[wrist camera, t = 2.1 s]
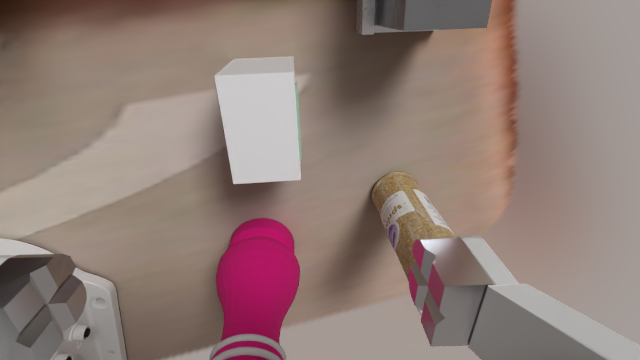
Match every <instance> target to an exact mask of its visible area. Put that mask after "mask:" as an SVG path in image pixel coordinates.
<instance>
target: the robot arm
mask: <svg viewBox="0 0 640 360" xmlns="http://www.w3.org/2000/svg"><path fill="white" fill-rule="evenodd" d="M412 253H413V255H414V258H415V260H416V261H415V262H414V263H413V264H412V265H411V266H410V270H409V288H410V293H411V297H412V299H413V302H414V305H415V306H416V307H418V308H419V309H420V310H422V311H423V312H422V317H421V323H422V325H423V328H424V330H425V333H426V335H427V338H428V340H429V342H430V345H431V346H462V345H469V348H470V349H471V350H472V351H473V352H474V353H475V354H476V355H477V356H478V357H479V358H480V359H482V360H640V346H639V345H638V344H636V343H634V342H632V341H630V340H629V339H627V338H625V337H623V336H621V335H619V334H617V333H616V332H614V331H612V330H610V329H608V328H607V327H605V326H603V325H601V324H599V323H597V322H596V321H594V320H592V319H590V318H588V317H586V316H584V315H583V314H581V313H579V312H577V311H575V310H574V309H572V308H570V307H568V306H566V305H564V304H563V303H560V302H559V301H557V300H555V299H553V298H552V297H550V296H548V295H546V294H544V293H542V292H541V291H539V290H537V289H535V288H533V287H531V286H530V285H528V284H519V283H518V282H517V280H516V279H515V278H514V277H513V275H512V274H511V273H510V272H509V270H508V269H507V268H506V267H505V265H504V264H503V263H502V262H501V261H500V259H499V258H498V257H497V256H496V254H495V253H494V252H493V251H492V249H491V248H490V247H489V246H488V244H487V243H486V242H485V241H484V239H483V238H482V237H480V236H478V235H473V236H458V237H450V238H429V239H416V240H415V242H414V244H413V250H412ZM0 360H127V356H126V349H125V343H124V337H123V331H122V324H121V318H120V312H119V305H118V299H117V293H116V288H115V286H114V284H113V283H112V282H110V281H109V280H107V279H104V278H102V277H99V276H96V275H93V274H90V273H87V272H84V271H82V270H80V269H78V268H76V266H75V265H74V263H73V261H72V259H71V257H70V256H68V255H64V254H53V253H51V252H49V251H47V250H45V249H42V248H40V247H37V246H34V245H31V244H28V243H24V242H20V241H16V240H10V239H2V238H0Z"/></svg>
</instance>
